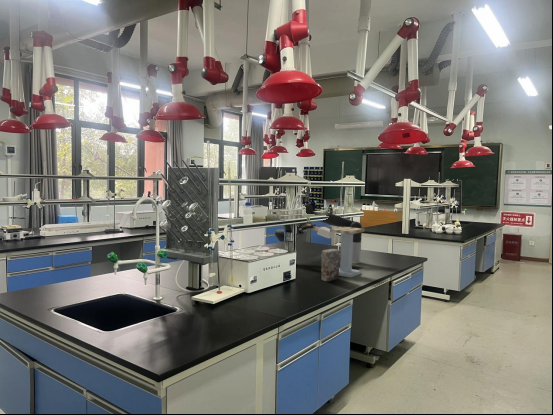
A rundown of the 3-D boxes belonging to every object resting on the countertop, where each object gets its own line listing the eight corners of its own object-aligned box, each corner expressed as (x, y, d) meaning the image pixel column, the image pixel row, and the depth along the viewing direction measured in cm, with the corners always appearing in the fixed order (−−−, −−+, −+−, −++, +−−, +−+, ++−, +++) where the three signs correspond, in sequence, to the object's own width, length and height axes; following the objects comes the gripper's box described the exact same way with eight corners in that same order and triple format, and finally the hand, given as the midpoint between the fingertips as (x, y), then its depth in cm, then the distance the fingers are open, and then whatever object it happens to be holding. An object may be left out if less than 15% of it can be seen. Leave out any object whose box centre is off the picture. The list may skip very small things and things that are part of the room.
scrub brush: (303, 228, 288) (304, 222, 287) (309, 228, 294) (310, 221, 293) (328, 238, 274) (329, 231, 273) (334, 237, 280) (335, 230, 279)
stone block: (328, 282, 248) (329, 251, 246) (319, 280, 252) (320, 250, 251) (340, 278, 257) (341, 249, 256) (331, 276, 262) (332, 248, 261)
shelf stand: (328, 274, 269) (329, 229, 267) (342, 269, 286) (344, 226, 284) (348, 278, 259) (350, 231, 257) (362, 272, 277) (364, 228, 275)
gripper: (289, 226, 292) (307, 221, 281) (300, 225, 303) (318, 220, 292) (292, 236, 291) (310, 231, 280) (302, 234, 302) (320, 230, 291)
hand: (314, 225), depth 286 cm, fingers closed on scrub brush, 2 cm apart
